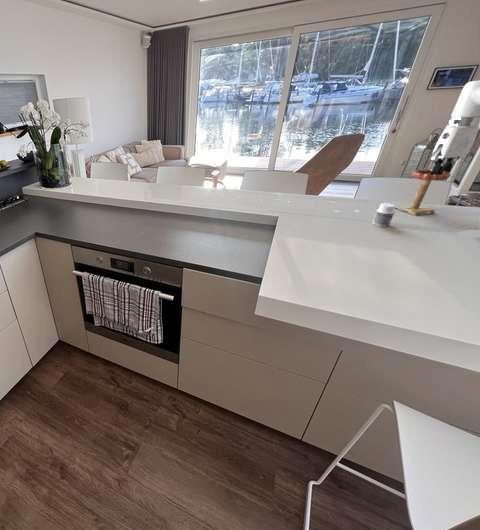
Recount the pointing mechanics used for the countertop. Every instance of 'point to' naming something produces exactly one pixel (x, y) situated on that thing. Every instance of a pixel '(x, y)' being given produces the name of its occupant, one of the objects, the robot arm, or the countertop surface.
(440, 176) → the ring
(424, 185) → the stand
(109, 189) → the countertop surface
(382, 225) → the pill bottle
